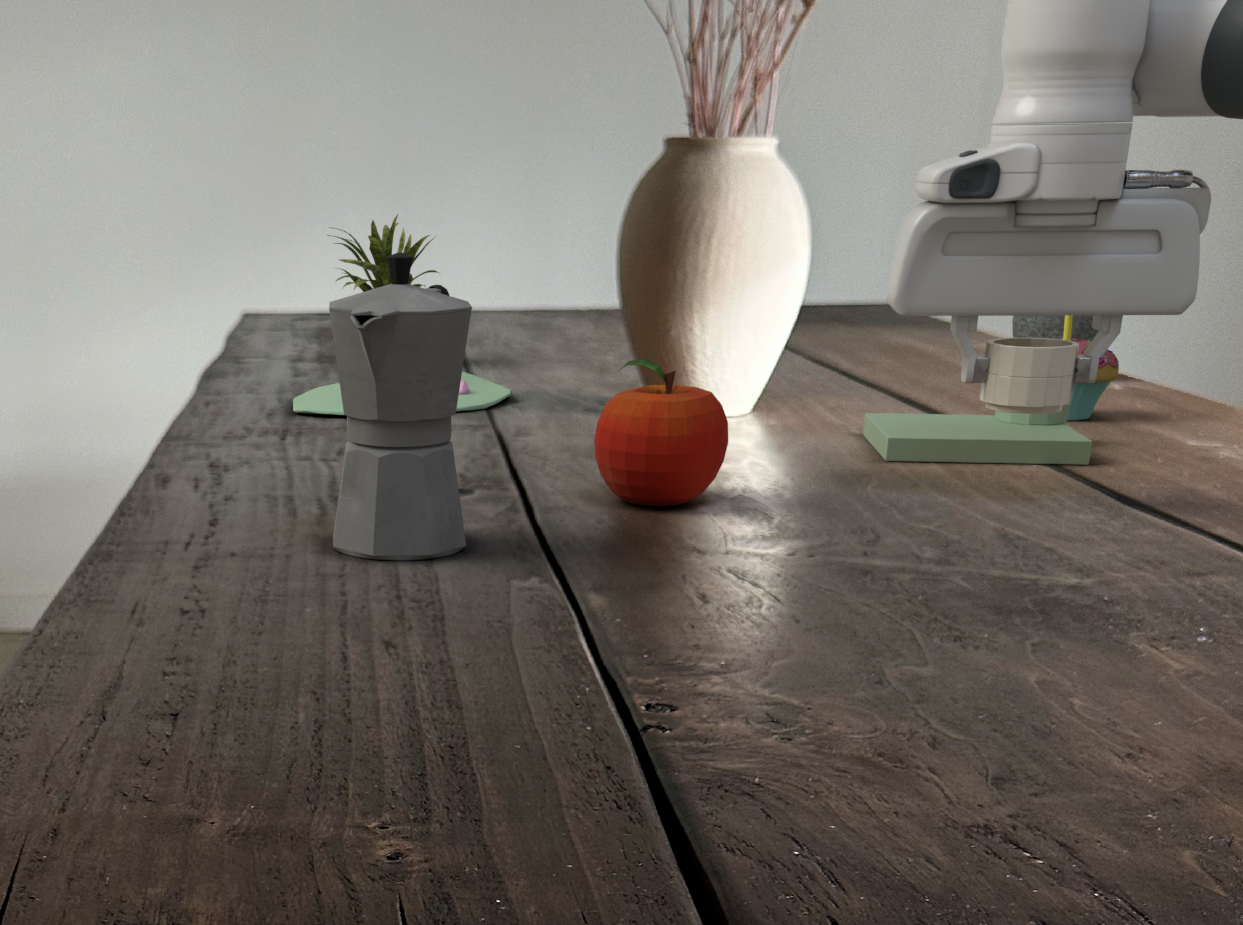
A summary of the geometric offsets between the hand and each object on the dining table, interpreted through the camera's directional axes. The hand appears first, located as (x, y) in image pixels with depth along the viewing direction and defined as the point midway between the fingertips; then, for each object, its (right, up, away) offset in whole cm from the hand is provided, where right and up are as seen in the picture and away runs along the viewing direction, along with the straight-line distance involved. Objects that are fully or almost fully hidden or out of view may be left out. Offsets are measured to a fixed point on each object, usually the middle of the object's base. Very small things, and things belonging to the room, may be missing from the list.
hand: (1026, 382), depth 121 cm
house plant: (-45, +24, +76) cm, 92 cm away
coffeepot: (-44, -13, -8) cm, 47 cm away
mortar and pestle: (+28, +19, +64) cm, 72 cm away
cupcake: (+18, +8, +39) cm, 44 cm away
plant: (-44, +12, +49) cm, 67 cm away
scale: (+4, +1, +23) cm, 24 cm away
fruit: (-26, -8, +4) cm, 27 cm away
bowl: (0, -2, +1) cm, 2 cm away
